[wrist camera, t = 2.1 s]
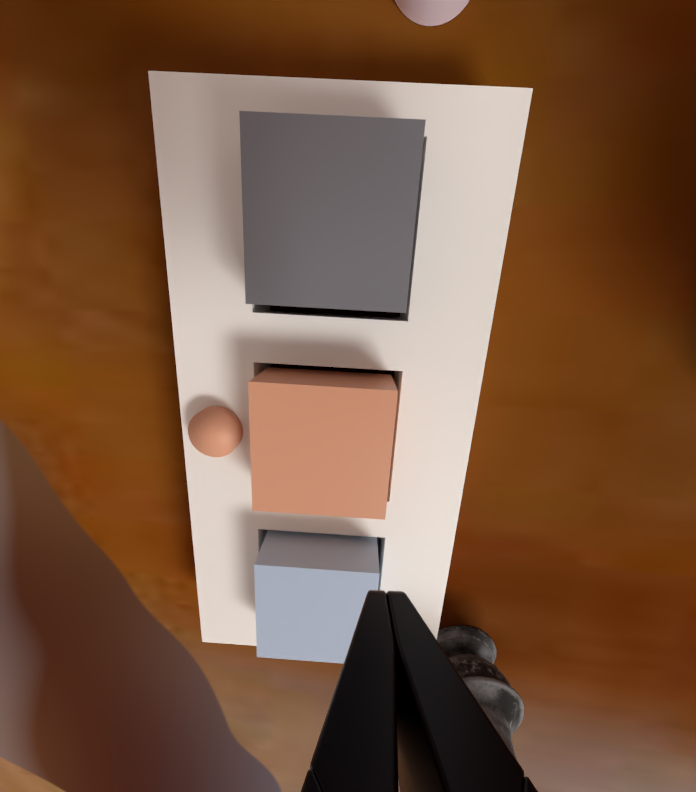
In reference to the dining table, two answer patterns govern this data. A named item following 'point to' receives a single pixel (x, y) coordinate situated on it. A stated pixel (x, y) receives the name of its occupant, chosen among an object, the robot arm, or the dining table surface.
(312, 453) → the terracotta key
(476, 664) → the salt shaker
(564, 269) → the dining table surface
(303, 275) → the charcoal key
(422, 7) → the smoothie
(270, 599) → the blue key
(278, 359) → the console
